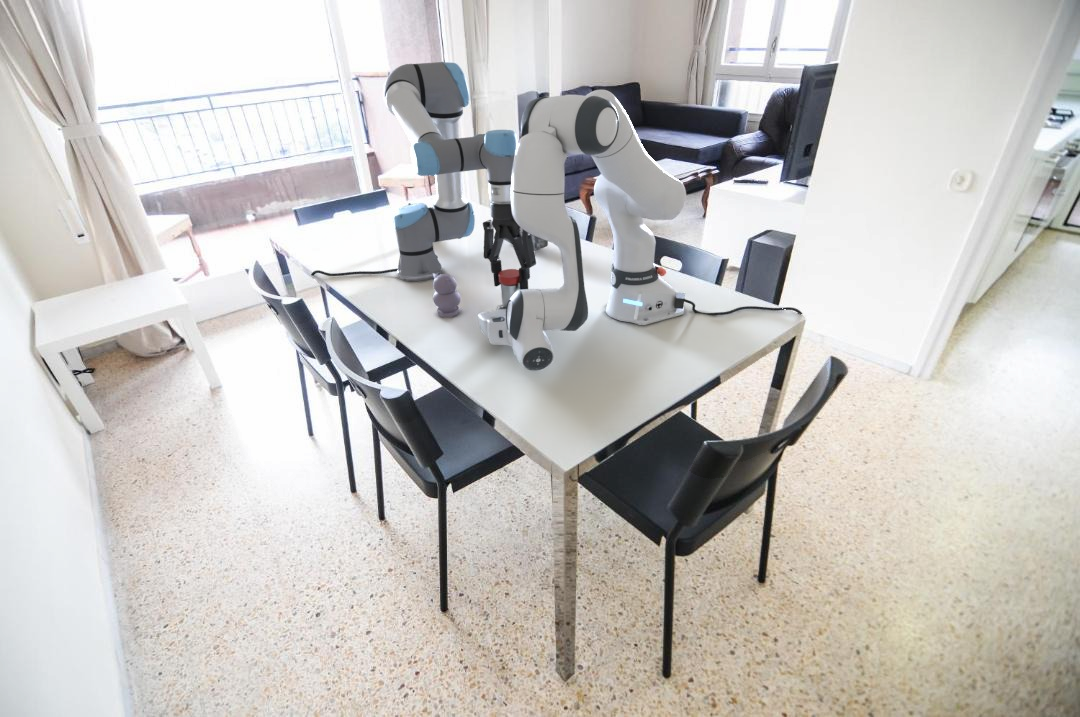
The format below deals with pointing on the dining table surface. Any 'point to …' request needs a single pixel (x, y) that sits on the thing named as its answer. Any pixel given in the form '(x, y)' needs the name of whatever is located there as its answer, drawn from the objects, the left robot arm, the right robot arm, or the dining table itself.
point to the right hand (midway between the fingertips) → (511, 305)
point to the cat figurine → (446, 295)
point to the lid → (509, 277)
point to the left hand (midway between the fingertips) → (511, 287)
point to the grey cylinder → (508, 292)
